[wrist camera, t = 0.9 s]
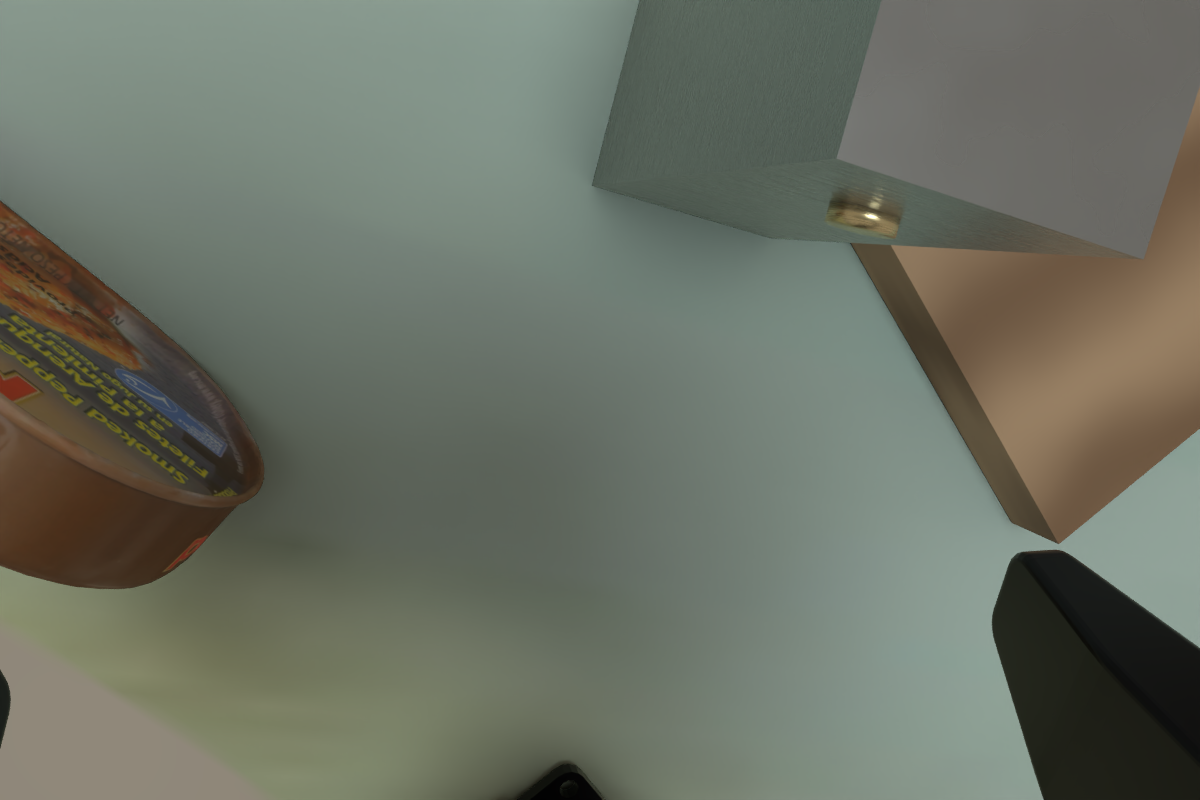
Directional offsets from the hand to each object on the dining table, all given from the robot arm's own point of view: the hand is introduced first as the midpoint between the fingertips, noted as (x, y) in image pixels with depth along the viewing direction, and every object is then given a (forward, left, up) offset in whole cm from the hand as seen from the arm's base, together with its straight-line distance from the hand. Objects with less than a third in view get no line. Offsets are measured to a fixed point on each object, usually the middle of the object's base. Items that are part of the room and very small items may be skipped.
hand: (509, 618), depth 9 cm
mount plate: (-9, -17, -16) cm, 25 cm away
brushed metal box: (0, -10, -16) cm, 19 cm away
